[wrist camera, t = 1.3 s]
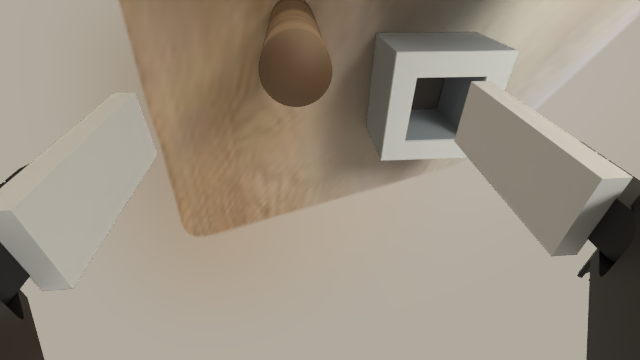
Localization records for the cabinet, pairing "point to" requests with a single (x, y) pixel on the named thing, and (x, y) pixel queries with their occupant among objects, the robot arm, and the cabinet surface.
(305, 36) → the walnut dowel
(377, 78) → the socket block
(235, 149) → the cabinet surface
